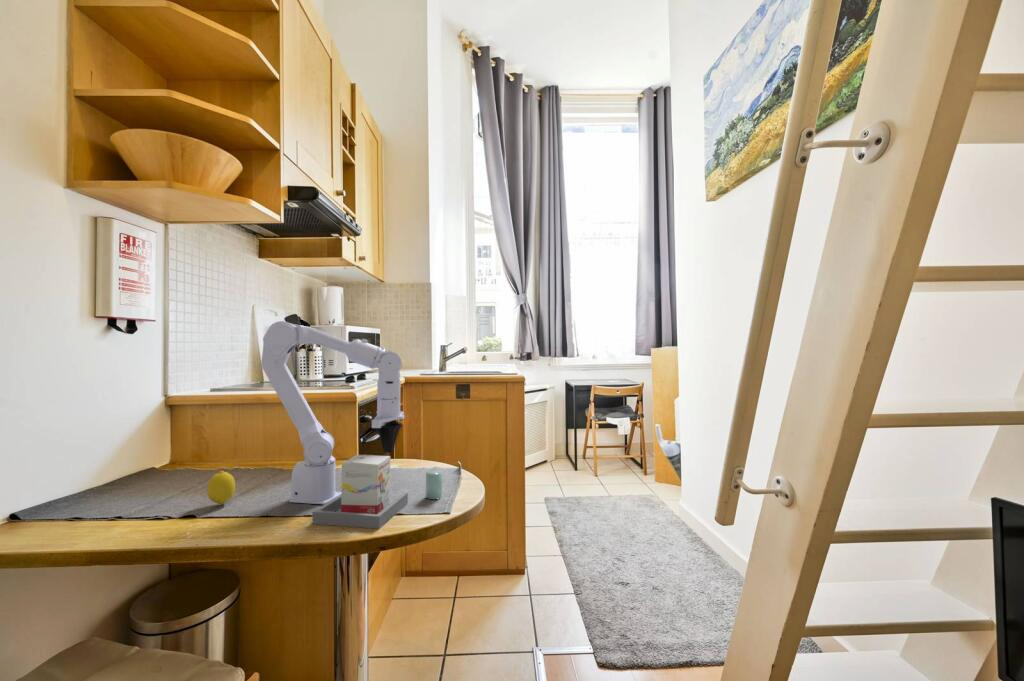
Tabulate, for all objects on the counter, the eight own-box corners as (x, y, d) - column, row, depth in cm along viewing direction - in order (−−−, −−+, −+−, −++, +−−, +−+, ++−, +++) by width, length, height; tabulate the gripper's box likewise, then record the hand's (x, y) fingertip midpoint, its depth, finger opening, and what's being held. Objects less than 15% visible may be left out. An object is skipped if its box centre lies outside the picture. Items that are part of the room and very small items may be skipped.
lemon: (235, 506, 107) (236, 471, 107) (207, 511, 104) (207, 475, 104) (234, 499, 112) (234, 466, 112) (207, 503, 109) (207, 470, 109)
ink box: (377, 517, 101) (377, 463, 101) (339, 516, 101) (340, 462, 101) (391, 504, 109) (391, 454, 109) (356, 502, 110) (356, 453, 110)
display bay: (312, 523, 97) (312, 511, 97) (348, 499, 112) (349, 489, 112) (379, 528, 95) (379, 516, 95) (407, 503, 109) (407, 493, 109)
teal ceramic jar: (423, 499, 112) (424, 474, 112) (427, 494, 116) (428, 470, 116) (439, 500, 112) (440, 475, 112) (443, 494, 116) (444, 470, 116)
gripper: (391, 402, 110) (390, 459, 110) (414, 395, 124) (414, 446, 124) (363, 401, 111) (363, 457, 111) (389, 394, 126) (389, 444, 125)
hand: (388, 451), depth 118 cm, fingers closed
